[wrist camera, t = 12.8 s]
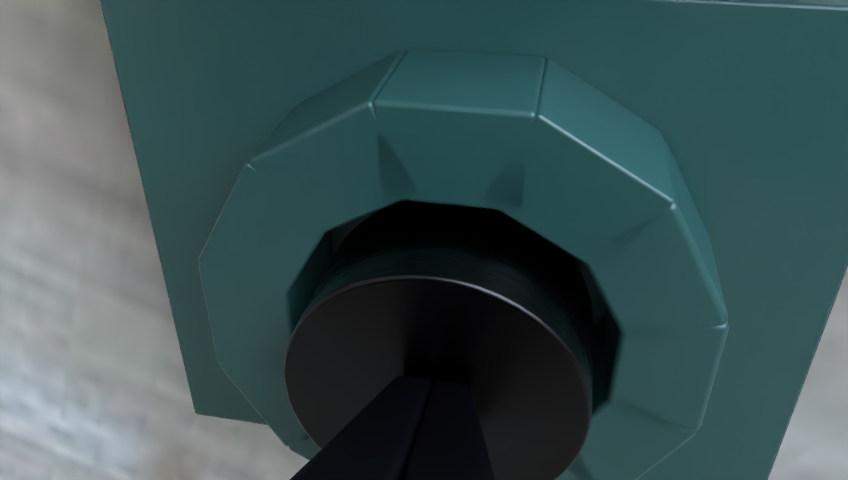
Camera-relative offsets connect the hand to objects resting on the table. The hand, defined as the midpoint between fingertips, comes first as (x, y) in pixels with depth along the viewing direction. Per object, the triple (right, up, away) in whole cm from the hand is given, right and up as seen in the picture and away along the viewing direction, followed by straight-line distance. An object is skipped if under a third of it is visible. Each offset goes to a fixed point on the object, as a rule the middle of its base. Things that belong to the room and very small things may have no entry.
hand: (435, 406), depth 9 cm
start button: (0, +1, +1) cm, 2 cm away
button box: (+1, +2, +4) cm, 4 cm away
